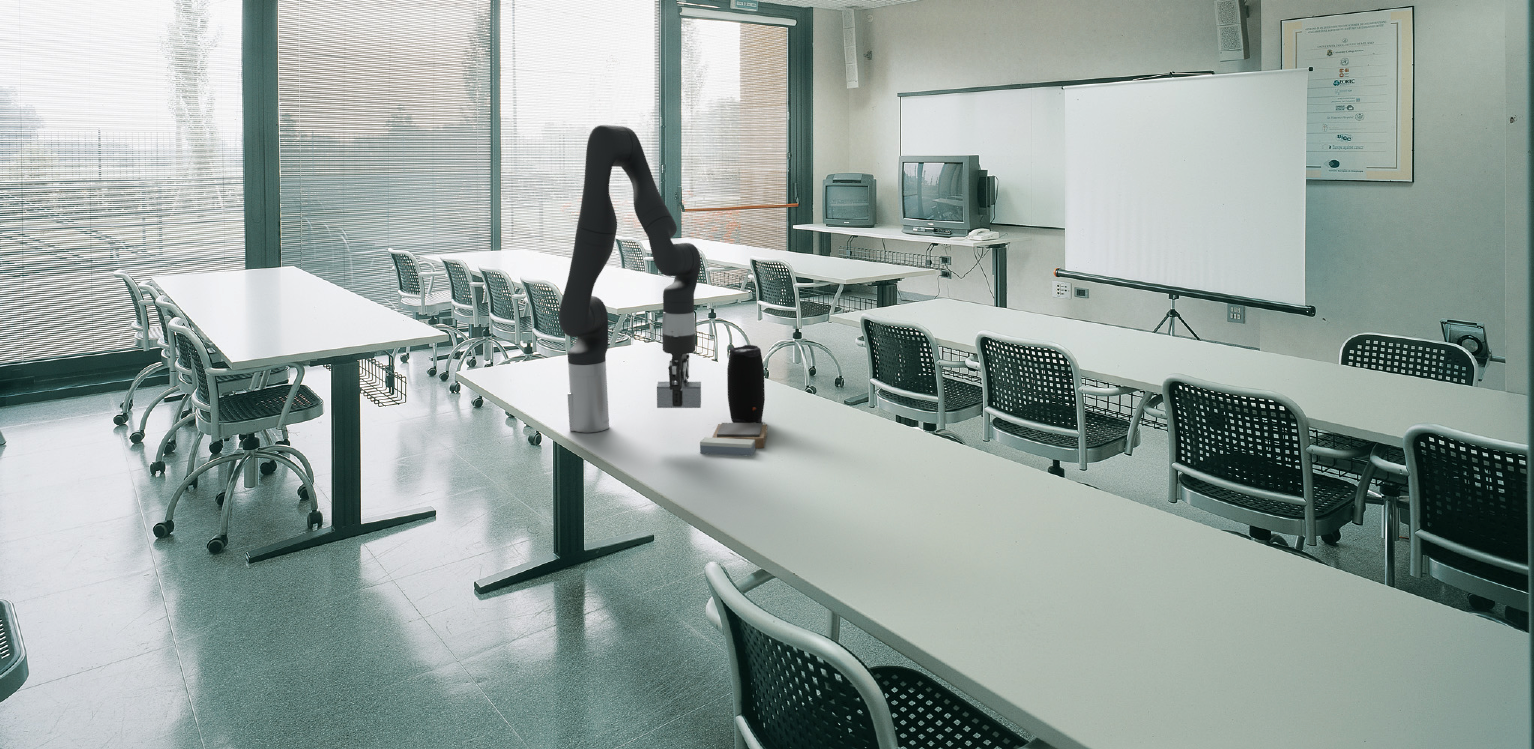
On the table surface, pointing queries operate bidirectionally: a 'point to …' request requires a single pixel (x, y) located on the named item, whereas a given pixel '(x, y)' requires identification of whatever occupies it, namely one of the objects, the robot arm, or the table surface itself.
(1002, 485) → the table surface
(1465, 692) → the table surface
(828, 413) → the table surface
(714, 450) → the eraser
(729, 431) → the stand
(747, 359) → the portable speaker
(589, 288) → the robot arm
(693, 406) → the block
